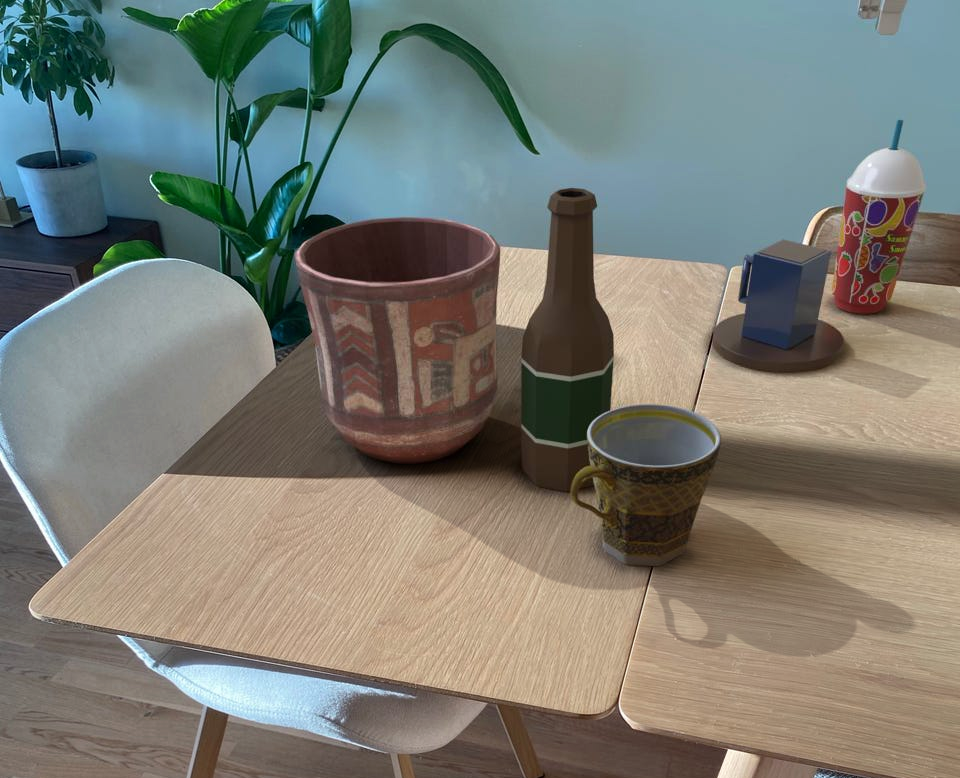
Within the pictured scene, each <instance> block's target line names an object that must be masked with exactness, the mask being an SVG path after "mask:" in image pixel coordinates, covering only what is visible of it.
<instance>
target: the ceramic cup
mask: <svg viewBox="0 0 960 778" xmlns="http://www.w3.org/2000/svg"><path fill="white" fill-rule="evenodd" d="M587 443H588V452H589V460H590V465H591V466H587V467H584V468H583V469H582V470H580V471H579V472H578V473H577V474H576V476H575V478H574V480H573V483H572V486H571V491H570V497H571V500H572V502H573V503H574V504H575V505H577V506H578V507H581V508H582V509H585V510H588V511H590V512H592V514H593V515H595V516H596V517H598V518H599V520H600V529H601V537H602V547H603V549H604V552H605V553H607V554H608V555H610V556H611V557H612V558H614V559H616V560H618V562H620V563H621V564H624V565H629V566H643V567H644V566H645V567H660V566H662V565H663V564H666V563H668V562H670V561H672V560H674V559H676V558H677V557H679V556H681V555H682V554H683V553H684V552H685V549H686V545H687V543H688V540H689V538H690V534H691V531H692V528H693V526H694V523H695V519H696V517H697V513H698V511H699V508H700V505H701V500H702V499H703V496H704V494H705V492H706V489H707V487H708V485H709V482H710V479H711V476H712V474H713V471H714V468H715V465H716V461H717V458H718V456H719V452H720V447H721V444H722V435H721V433H720V430H719V429H718V427H717V426H716V425H715V424H714V423H713V422H712V421H711V420H709V419H708V418H707V417H705V416H703V415H701V414H699V413H697V412H695V411H692V410H690V409H686V408H682V407H679V406H674V405H668V404H667V405H665V404H656V403H655V404H653V403H646V404H645V403H644V404H643V403H641V404H631V405H626V406H621V407H617V408H614V409H610V411H608V412H606V413H604V414H602V415H600V416H599V417H597V418H596V419H595V420H594V421H593V422H592V423H591V424H590V426H589V428H588V431H587ZM592 477H593V481H594V485H593V486H594V490H595V493H596V498H597V499H596V500H597V506H598V508H597V507H595V506H594V505H592V504H589V503H587V502H584V501H582V500H580V499H579V494H578V493H579V491H580V489H579V488H580V486H581V485H582V484H583V483H584V482H585V481H586V480H588V479H590V478H592Z"/></svg>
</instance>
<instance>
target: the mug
mask: <svg viewBox="0 0 960 778" xmlns="http://www.w3.org/2000/svg"><path fill="white" fill-rule="evenodd" d="M831 256H832V250H830V249H825V248H822V247H821V248H820V247H817V246H813V245H809V244H804V243H802V242H801V243H800V242H796V241H792V240H787V239H781V240H778V241H777V242H774V243H773V244H771V245H768V246H766V247H764V248H762V249H760V250H758V251H755V252H754V253H753V254H750V253H748V254H745V255H744V257H743V261H742V270H741V276H740V283H739V289H738V296H737V301H738V302H739V303H740V304H743V305H745V309H744V313H745V314H744V321H743V328H742V335H741V336H743V337H747V338H750V339H753V340H756V341H760V342H763V343H766V344H769V345H773V346H776V347H779V348H783V349H786V350H788V349H790V348H792V347H793V346H795V345H797V344H798V343H800V342H802V341H803V340H805V339H807V338H809V337H810V336H812V335H814V334H815V332H816V327H817V322H818V319H819V316H820V311H821V307H822V301H823V296H824V290H825V286H826V280H827V276H828V270H829V265H830V261H831Z"/></svg>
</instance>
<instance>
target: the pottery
mask: <svg viewBox="0 0 960 778" xmlns="http://www.w3.org/2000/svg"><path fill="white" fill-rule="evenodd" d="M294 260H295V265H296V271H297V276H298V282H299V284H300V285H299V286H300V288H301V292H302V295H303V299H304V302H305V307H306V310H307V314H308V318H309V323H310V328H311V332H312V337H313V342H314V347H315V355H316V364H317V371H318V379H319V387H320V393H321V400H322V404H323V409H324V411H325V414H326V415H327V418H328V420H329V421H330V422H331V424H332V426H334V428H335V429H336V430H337V432H338V433H339V435H340V436H341V437H342V438H343V439H344V440H345V441H346V442H347V443H348V444H349V445H350V446H351V447H353V448H354V449H356V450H357V451H358V452H360V453H362V454H363V455H365V456H367V457H369V458H372V459H374V460H376V461H381V462H387V463H392V464H399V465H400V464H403V465H404V464H405V465H406V464H407V465H408V464H413V465H414V464H415V465H416V464H421V463H428V462H433V461H438V460H442V459H444V458H446V457H448V456H450V455H453V454H456V453H457V452H458V451H459V450H460V449H462V448H463V447H464V446H465V445H466V444H468V442H470V441H471V440H473V438H474V437H475V436H476V435H478V434H479V433H480V432H481V431H482V429H483V427H484V426H485V424H486V423H487V421H488V418H489V417H490V415H491V412H492V408H493V407H494V406H493V405H494V403H495V399H496V395H497V393H498V375H499V374H498V351H497V348H498V347H497V311H498V310H497V309H498V306H497V304H498V290H499V289H498V288H499V275H500V265H501V246H500V244H499V243H498V242H497V240H496V239H495V237H493V235H491V234H489V233H488V232H485V231H484V230H482V229H479V228H478V227H475V226H474V225H471V224H466V223H462V222H459V221H454V220H450V219H442V218H434V217H433V218H432V217H420V216H419V217H413V216H397V217H382V218H381V217H380V218H379V217H378V218H370V219H365V220H359V221H354V222H348V223H345V224H342V225H338V226H336V227H332V228H330V229H326V230H324V231H322V232H320V233H317V234H316V235H314V236H311V237H310V238H309V239H307V240H306V241H304V242H302V244H301V245H299V247H298V248H297V250H296V251H295V252H294Z"/></svg>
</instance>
